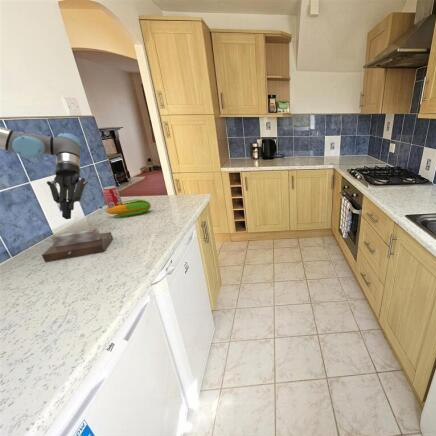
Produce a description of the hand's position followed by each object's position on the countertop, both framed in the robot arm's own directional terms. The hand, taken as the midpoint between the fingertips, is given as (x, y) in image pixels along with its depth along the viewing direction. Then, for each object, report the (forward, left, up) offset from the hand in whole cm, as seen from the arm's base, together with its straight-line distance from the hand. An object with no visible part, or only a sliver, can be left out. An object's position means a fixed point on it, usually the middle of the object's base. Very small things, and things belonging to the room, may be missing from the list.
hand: (66, 217), depth 94 cm
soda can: (-15, +41, -12) cm, 45 cm away
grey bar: (+6, -4, -9) cm, 11 cm away
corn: (+1, +31, -12) cm, 33 cm away
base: (+6, -4, -12) cm, 14 cm away
